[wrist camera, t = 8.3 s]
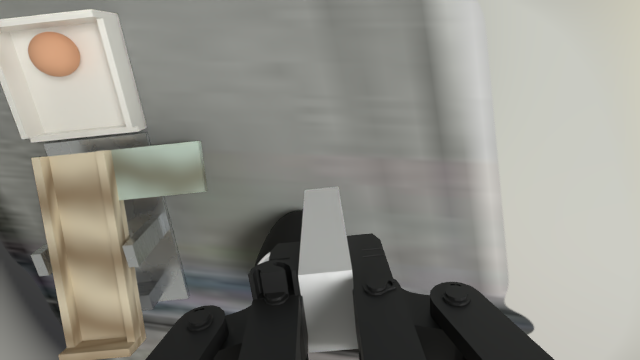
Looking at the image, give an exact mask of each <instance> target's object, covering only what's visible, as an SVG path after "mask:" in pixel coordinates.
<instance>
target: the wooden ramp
mask: <svg viewBox="0 0 640 360" xmlns="http://www.w3.org/2000/svg"><path fill="white" fill-rule="evenodd" d="M31 159H32V165H33V170H34V175H35V181H36V186H37V191H38V197H39V202H40V207H41V213H42V218H43V223H44V228H45V234H46V239H47V244H48V250H49V255H50V260H51V266H52V271H53V276H54V282H55V287H56V292H57V298H58V303H59V308H60V314H61V319H62V324H63V329H64V335H65V340H66V346H67V348H66V349H65V350H64V351H63V352H61V353H60V354H59V360H95V359H106V358H117V357H128V356H131V355H132V354H133V353H134V352H135V351H136V350H137V348H138V347H139V346H140V345H141V344H142V343H143V342H144V341H145V339H146V335H145V328H144V322H143V316H142V310H141V304H140V298H139V291H138V285H137V279H136V273H135V267H130V268H129V266H128V263H127V260H126V257H125V254H124V250H123V247H122V246H123V245H124V244H125V243H126V242H127V241H128V240H129V239H130V236H129V230H128V224H127V217H126V211H125V205H124V200H128V199H138V198H148V197H158V196H168V195H179V194H189V193H199V192H206V191H207V184H206V176H205V169H204V162H203V154H202V147H201V141H194V142H184V143H175V144H165V145H155V146H145V147H136V148H126V149H116V150H103V151H95V152H87V153H77V154H68V155H58V156H48V157H35V158H31Z"/></svg>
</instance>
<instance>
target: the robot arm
mask: <svg viewBox="0 0 640 360" xmlns="http://www.w3.org/2000/svg"><path fill="white" fill-rule="evenodd" d="M248 276H249V282H250V287H251V292H252V297H253V302H252V305H251V306H249V307H248V308H246V309H244V310H241V311H239V312H236V313H233V314H230V315H226V316H225V313H224V311H223V310H222V309H221V308H220V307H217V306H212V305H211V306H202V307H198V308H195V309H193V310H191V311H189V312H187V313H186V314H184V315H183V316H182V317H181V318H180V319H179V320H178V321H177V322H176V323H175V325H174V326H173V327H172V328H171V329H170V331H169V332H168V333H167V334H166V335H165V337H164V338H163V339H162V340H161V342H160V343H159V344H158V345H157V346H156V348H155V349H154V350H153V351H152V352H151V354H150V355H149V356H148V357H147V358H146V360H308V349H309V353H312V352H324V351H335V350H346V349H358V350H359V360H554V359H553V358H552V357H551V356H550V355H549V354H547V353H546V352H545V351H544V350H543V349H542V348H541V347H540V346H539V345H537V344H536V343H535V342H534V341H533V340H532V339H531V338H530V337H529V336H528V335H526V334H525V333H524V332H523V331H522V330H521V329H520V328H519V327H518V326H516V325H515V324H514V323H513V322H512V321H511V320H510V319H509V318H508V317H507V316H505V315H504V314H503V313H502V312H501V311H500V310H499V309H498V308H497V307H495V306H494V305H493V304H492V303H491V302H490V301H489V300H488V299H487V298H485V297H484V296H483V295H482V294H481V293H480V292H479V291H478V290H476V289H474V288H473V287H471V286H469V285H466V284H463V283H458V282H445V283H441V284H438V285H436V286H435V287H434V288H433V289H432V290H431V292H430V295H423V294H416V293H411V292H409V291H406V290H404V289H402V288H401V286H400V285H399V283H398V282H397V280H395V279H393V277H392V274H391V271H390V268H389V265H388V262H387V259H386V256H385V253H384V250H383V247H382V244H381V241H380V239H378V238H377V237H376V236H375V235H373V234H362V235H352V236H346V229H345V223H344V217H343V211H342V205H341V199H340V193H339V187H329V188H319V189H309V190H305V192H304V205H303V218H302V231H301V241H300V242H289V243H279V244H277V245H276V246H275V247H274V248H273V249H272V250H271V251H270V256H269V261H265V262H263V263H261V264H258V265H257V266H255V267H254V268H253V269H251V271H250V273H249V274H248Z"/></svg>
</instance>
